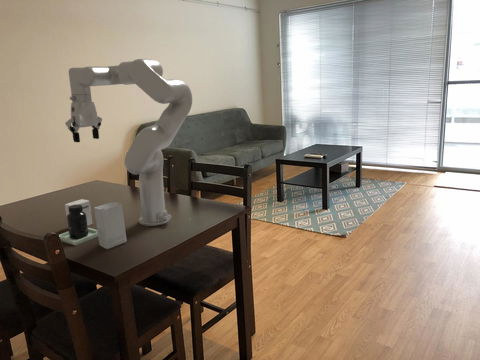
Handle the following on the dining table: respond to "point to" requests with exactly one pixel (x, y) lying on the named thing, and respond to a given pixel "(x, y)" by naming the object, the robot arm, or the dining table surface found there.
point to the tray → (65, 238)
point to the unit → (86, 209)
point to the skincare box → (110, 224)
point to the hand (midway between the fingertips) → (86, 140)
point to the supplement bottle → (77, 222)
